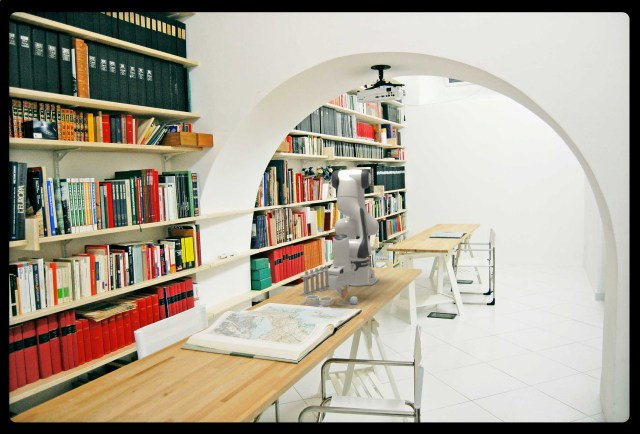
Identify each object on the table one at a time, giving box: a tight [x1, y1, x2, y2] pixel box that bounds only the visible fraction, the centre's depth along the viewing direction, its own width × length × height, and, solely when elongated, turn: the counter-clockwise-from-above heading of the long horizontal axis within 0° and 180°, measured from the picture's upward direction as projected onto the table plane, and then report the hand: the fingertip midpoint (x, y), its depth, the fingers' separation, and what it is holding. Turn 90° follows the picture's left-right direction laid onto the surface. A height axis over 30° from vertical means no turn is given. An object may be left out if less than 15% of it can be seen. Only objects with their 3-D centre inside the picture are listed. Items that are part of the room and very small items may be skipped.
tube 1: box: [305, 294, 321, 304], centre depth 244 cm, size 7×7×3 cm
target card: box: [299, 301, 336, 308], centre depth 240 cm, size 10×15×1 cm, turn 57°
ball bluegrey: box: [349, 295, 359, 304], centre depth 236 cm, size 4×4×4 cm
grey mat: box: [337, 300, 361, 307], centre depth 238 cm, size 6×10×1 cm, turn 57°
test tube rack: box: [299, 264, 330, 297], centre depth 267 cm, size 25×4×13 cm, turn 142°
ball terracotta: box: [340, 288, 348, 298], centre depth 240 cm, size 4×4×4 cm
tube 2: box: [319, 296, 334, 307], centre depth 239 cm, size 7×7×3 cm
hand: (343, 294), depth 240 cm, fingers closed on ball terracotta, 4 cm apart
